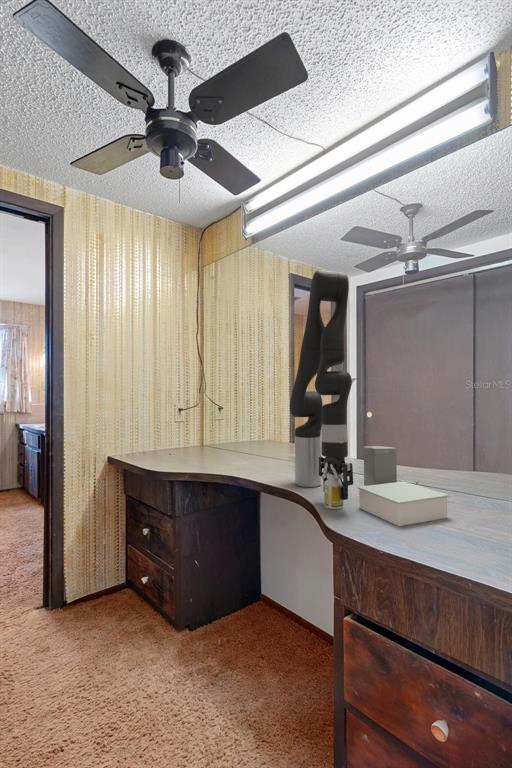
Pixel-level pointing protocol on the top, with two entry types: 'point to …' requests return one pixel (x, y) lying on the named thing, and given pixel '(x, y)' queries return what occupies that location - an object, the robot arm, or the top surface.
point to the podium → (403, 503)
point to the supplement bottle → (332, 493)
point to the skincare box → (379, 465)
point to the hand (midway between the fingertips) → (335, 495)
